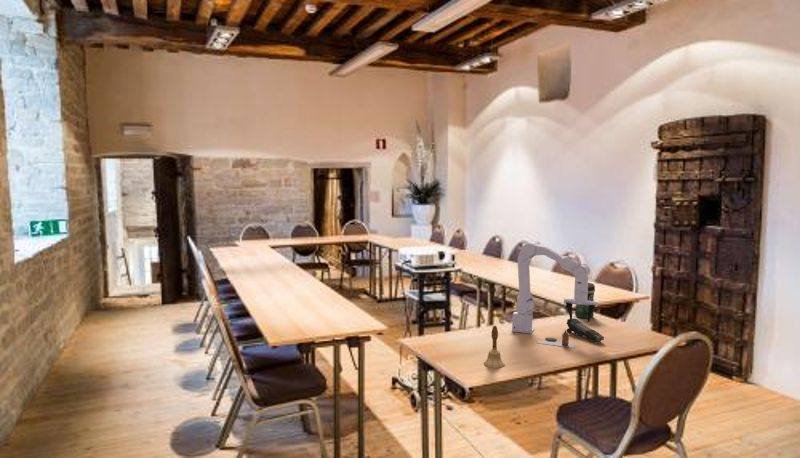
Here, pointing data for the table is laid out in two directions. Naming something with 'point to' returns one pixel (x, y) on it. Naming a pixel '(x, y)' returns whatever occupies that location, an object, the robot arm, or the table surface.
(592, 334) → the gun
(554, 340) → the coaster
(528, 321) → the robot arm
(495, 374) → the table surface
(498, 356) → the hand bell
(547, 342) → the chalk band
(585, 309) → the coffee jar
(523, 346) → the table surface
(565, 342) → the awl
